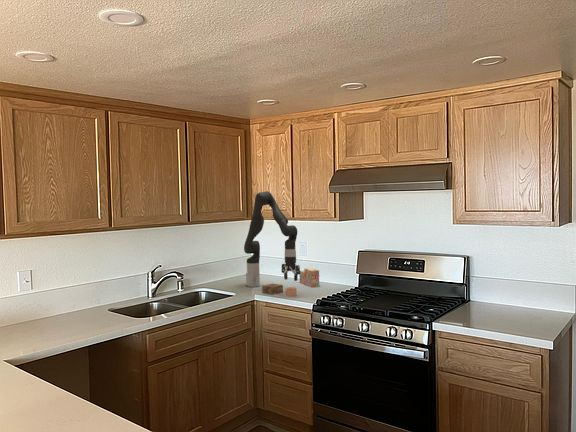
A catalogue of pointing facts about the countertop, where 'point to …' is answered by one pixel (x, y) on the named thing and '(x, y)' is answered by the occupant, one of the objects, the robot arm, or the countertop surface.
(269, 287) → the walnut block
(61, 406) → the countertop surface
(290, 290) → the terracotta cube
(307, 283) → the stack of blocks
